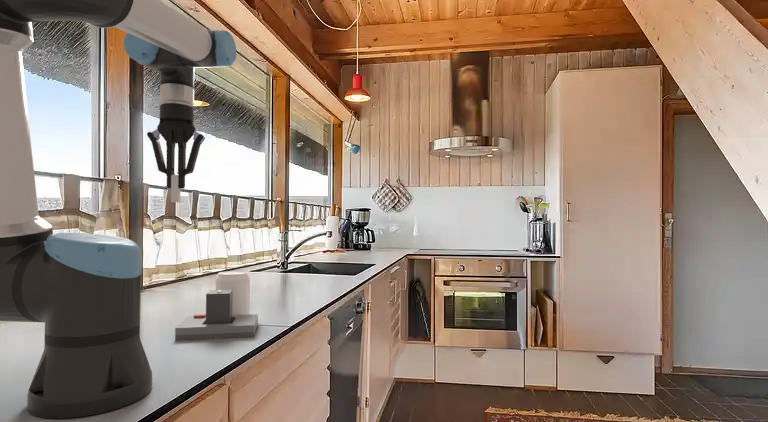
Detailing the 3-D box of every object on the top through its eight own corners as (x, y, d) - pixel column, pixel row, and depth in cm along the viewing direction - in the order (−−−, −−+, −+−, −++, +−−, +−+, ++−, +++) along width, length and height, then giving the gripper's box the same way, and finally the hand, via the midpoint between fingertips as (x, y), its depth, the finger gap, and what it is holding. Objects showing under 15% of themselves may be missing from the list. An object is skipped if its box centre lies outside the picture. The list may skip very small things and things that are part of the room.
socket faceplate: (253, 336, 98) (254, 322, 98) (175, 339, 95) (175, 325, 95) (257, 324, 109) (258, 311, 109) (187, 327, 106) (187, 313, 106)
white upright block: (256, 319, 114) (256, 272, 114) (229, 326, 107) (230, 275, 108) (234, 315, 119) (235, 269, 119) (208, 321, 112) (208, 273, 112)
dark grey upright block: (229, 329, 100) (230, 292, 100) (205, 330, 99) (206, 293, 99) (232, 324, 105) (232, 288, 105) (209, 325, 104) (209, 289, 104)
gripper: (208, 110, 115) (206, 203, 115) (152, 107, 113) (151, 202, 112) (202, 103, 108) (200, 202, 108) (143, 100, 105) (141, 201, 105)
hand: (175, 202), depth 110 cm, fingers closed
